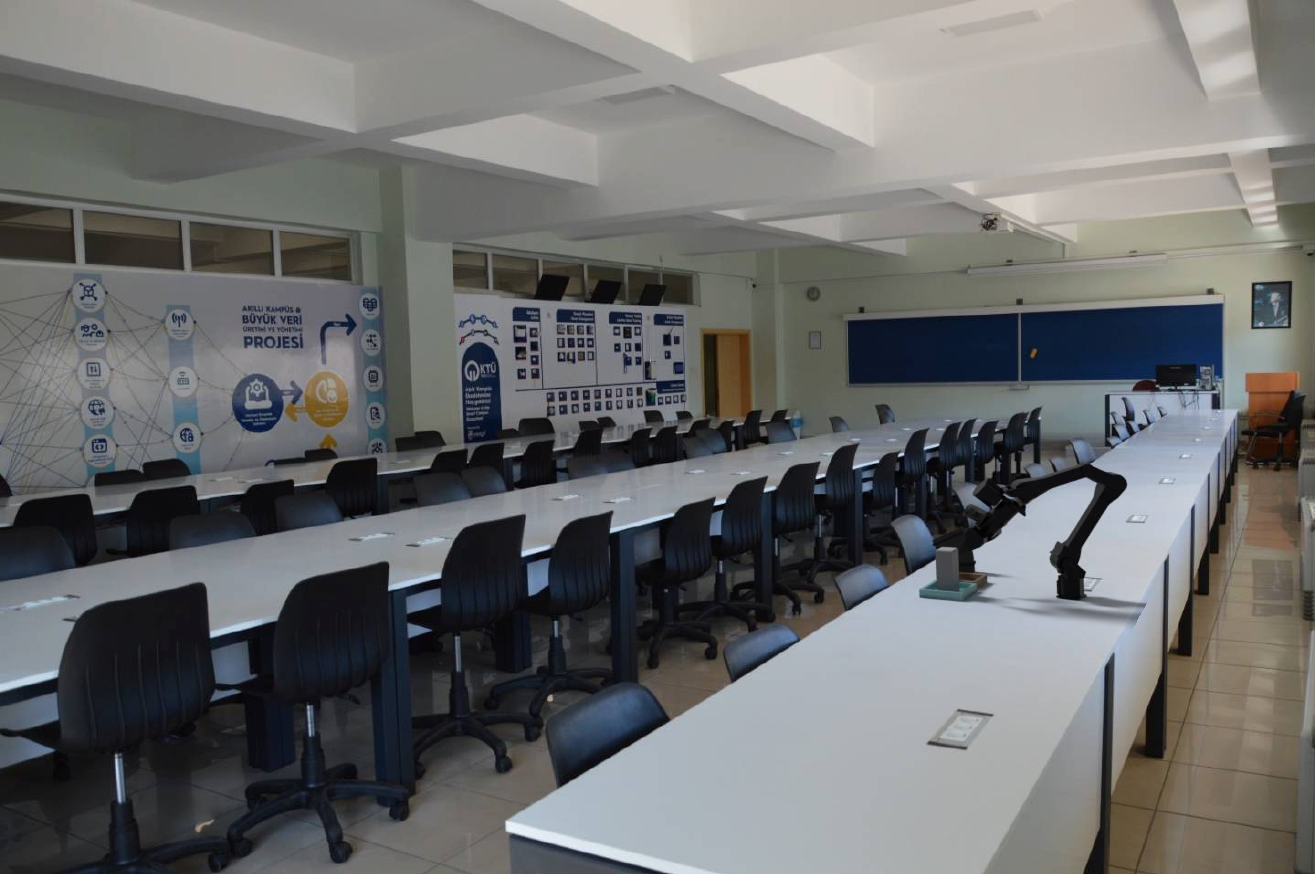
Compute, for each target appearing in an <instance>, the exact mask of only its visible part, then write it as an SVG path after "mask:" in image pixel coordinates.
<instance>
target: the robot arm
mask: <svg viewBox="0 0 1315 874" xmlns="http://www.w3.org/2000/svg"><path fill="white" fill-rule="evenodd" d="M1082 479H1088V480H1090V481H1092V482H1093V483H1096V485H1095V486H1094V491H1093V497H1092V499H1091V501H1090V502H1089V504H1088V505H1087V507H1086V508H1085V510H1084V511H1083V514H1082V515H1081V516H1080V518H1079V520H1078V521H1077V523H1076V524H1075V526H1074V528H1073V530H1072V531H1071V533H1070V534H1069V535H1068V537H1067V538H1066V539H1065V540H1064V541H1063V542H1060V541H1059V540H1057V541H1056V542H1055V544H1054V546H1053V549H1052V550H1050V551H1049V553H1050V555H1049V562H1050V564H1051V566H1052V567H1053V569H1055V570H1056V572H1057V573H1058V574H1059V575H1057V580H1056V594H1057V595H1055V598H1058V599H1065V600H1074V601H1079V600H1081V599H1083V598H1086V597H1087V595H1088V594H1086V593H1085V578H1086V575H1087V570H1085V569H1084V568H1082V567H1081V566H1080V565H1079V562H1080V560H1081V556H1082V550H1083V548H1084V545H1085V543H1086V542H1087V541H1088V538H1089V537H1090V536H1091V534H1092V532H1093V531H1094V529H1095V528H1096V526H1097V524H1098V522H1100V519H1101V518H1102V517H1103V515H1104V514H1105V511H1106V510H1107V509H1108V507H1109V506H1110V505H1111V504H1112V503H1114V502H1115V501H1117V500H1118V499H1119V498H1120V497H1121V496H1122V495H1123V493H1124V492H1125V491H1126V490H1127V487H1128V482H1127V479H1126V477H1124V475H1122V474H1120V473H1115V472H1112V471H1105V470H1102V469H1100V468H1098V467H1096V466H1094V465H1093V464H1091V463H1090V462H1089V463H1088V462H1085V461H1084V462H1079V463H1078V464H1075V465H1073V466H1069V467H1066V468H1063V469H1060V470H1056V471H1055V472H1051V473H1049V474H1048V473H1047V474H1046V475H1042V476H1037V477H1025V478H1021V479H1015V480H1014V481H1012V482H1011V484H1009V485H1008V484H1007V485H1004V486H1000V485H998V483H996V482H995V481H994V480H993V478H992V479H991V478H990V477H989V476H988V477H987V476H986V478H985V479H984V480H982V481H981V482H979V484H977V485H976V486H975V488H974V489H973V491H972V496H974V497H975V498H976V499H977V500H978V501H980V503H982V504H984V505H986V507H988V508H989V507H993V508H992V509H990V510H989V511H986V510H984V509H983V508H981V507H979V506H977V505H975V504H972V503H969V504H967V505H966V507H965V509H963V512H962V513H963V514H962V516H963V517H964V518H968V519H969V520H973V521H974V522H975V523H974V525H970V526H968V527H966V528H965V529H966V530H965V531H964V535H965V541H964V542H963V544H962V546H961V548H960V549H959V551H958V554H959V555H962V554H965V553H967V552H970V551H974V550H978V549H980V548H981V547H983V546H984V545H985V544H987V543H988V542H992V541H994V540H995V539H997V538H999V536H1001V534H1002V533H1003V532H1002V529H1003V528H1005V527H1006V526H1007V525H1008V523H1009V522H1010V521H1011V520H1013V518H1014V517H1015V516H1016V515H1017V514H1020V515H1021V516H1023V517H1026V516H1027V513H1026V512H1027V511H1026V510H1027V505H1026V504H1025V503H1024V504H1021V503H1020V502H1018V501H1021V502H1029V501H1032V500H1034V499H1036V498H1037V497H1039V496H1041V495H1042V494H1043V493H1045V492H1047V491H1049V490H1051V489H1055V488H1058V487H1060V486H1064V485H1067V484H1071V483H1073V482H1077V481H1079V480H1082ZM1007 496H1008V497H1007ZM1015 499H1016V500H1015ZM1017 500H1018V501H1017Z"/></svg>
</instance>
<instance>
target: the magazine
mask: <svg viewBox="0 0 1315 874" xmlns="http://www.w3.org/2000/svg"><path fill="white" fill-rule="evenodd" d="M966 529H967V528H964V526H960V527H958V528H955V529H954V530H950V531H948V532H946V533H943V534H942V535H939V536H938V537H935V538H933V539H932V540H931V541H932V544H931V545H932V547H935V549H936V550H937V549H939V548H941V547H951V548H957V549H958V551H959V549H960V548H961V546H962V544H963V542H964V541H965V535H964V531H965V530H966ZM958 563H959V572H960V573H974V574H975V572H976V564H977V560H975V555H974V550H972V551H970V552H967V553H965V554H962V555H959V554H958Z"/></svg>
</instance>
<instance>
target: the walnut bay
mask: <svg viewBox="0 0 1315 874" xmlns="http://www.w3.org/2000/svg"><path fill="white" fill-rule="evenodd" d="M959 582H966V583H977V590H979V589H980V588H982V587H983V586H984V585H986V584H987V583H988V574H985V573H984V574H983V573H975V572H974V573H960V572H959Z"/></svg>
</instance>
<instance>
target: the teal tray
mask: <svg viewBox="0 0 1315 874" xmlns="http://www.w3.org/2000/svg"><path fill="white" fill-rule="evenodd" d="M977 591H978V589H977V583H966V582H959V591H958V592H954V591H942V590H937V579H936V580H932V581H930V582H929V583H927V584H926V585H924V586H922V587H921V588H918V592H919V594H918V595H919V598H924V599H936V600H947V601H958V602H964V601H965V600H967V599H968V598H969V597H970V596H972V595H973V594H975V593H976V592H977Z"/></svg>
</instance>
